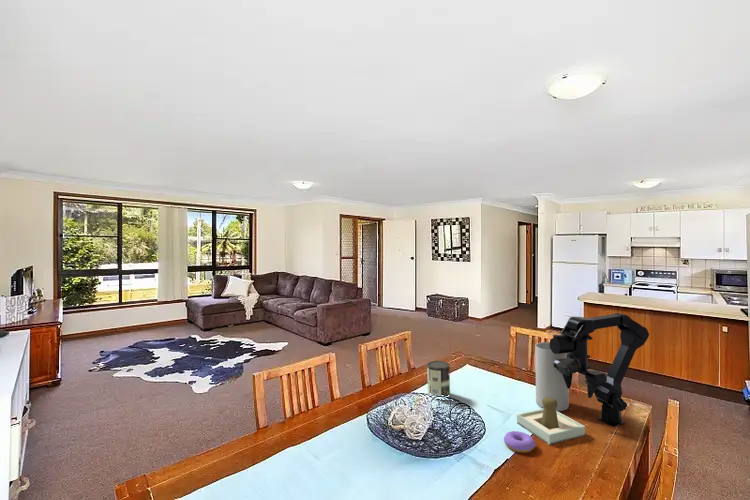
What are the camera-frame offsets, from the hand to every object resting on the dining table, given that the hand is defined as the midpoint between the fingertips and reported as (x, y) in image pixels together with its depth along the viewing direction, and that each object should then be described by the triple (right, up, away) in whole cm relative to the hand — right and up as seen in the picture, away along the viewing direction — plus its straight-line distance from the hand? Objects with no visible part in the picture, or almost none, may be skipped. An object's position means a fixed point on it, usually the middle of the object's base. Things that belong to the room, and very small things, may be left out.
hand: (578, 392), depth 138 cm
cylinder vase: (-2, -12, +18) cm, 22 cm away
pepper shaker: (-12, -12, -2) cm, 17 cm away
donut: (-27, -14, -12) cm, 33 cm away
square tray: (-12, -13, -2) cm, 17 cm away
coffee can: (-47, -13, +30) cm, 58 cm away
